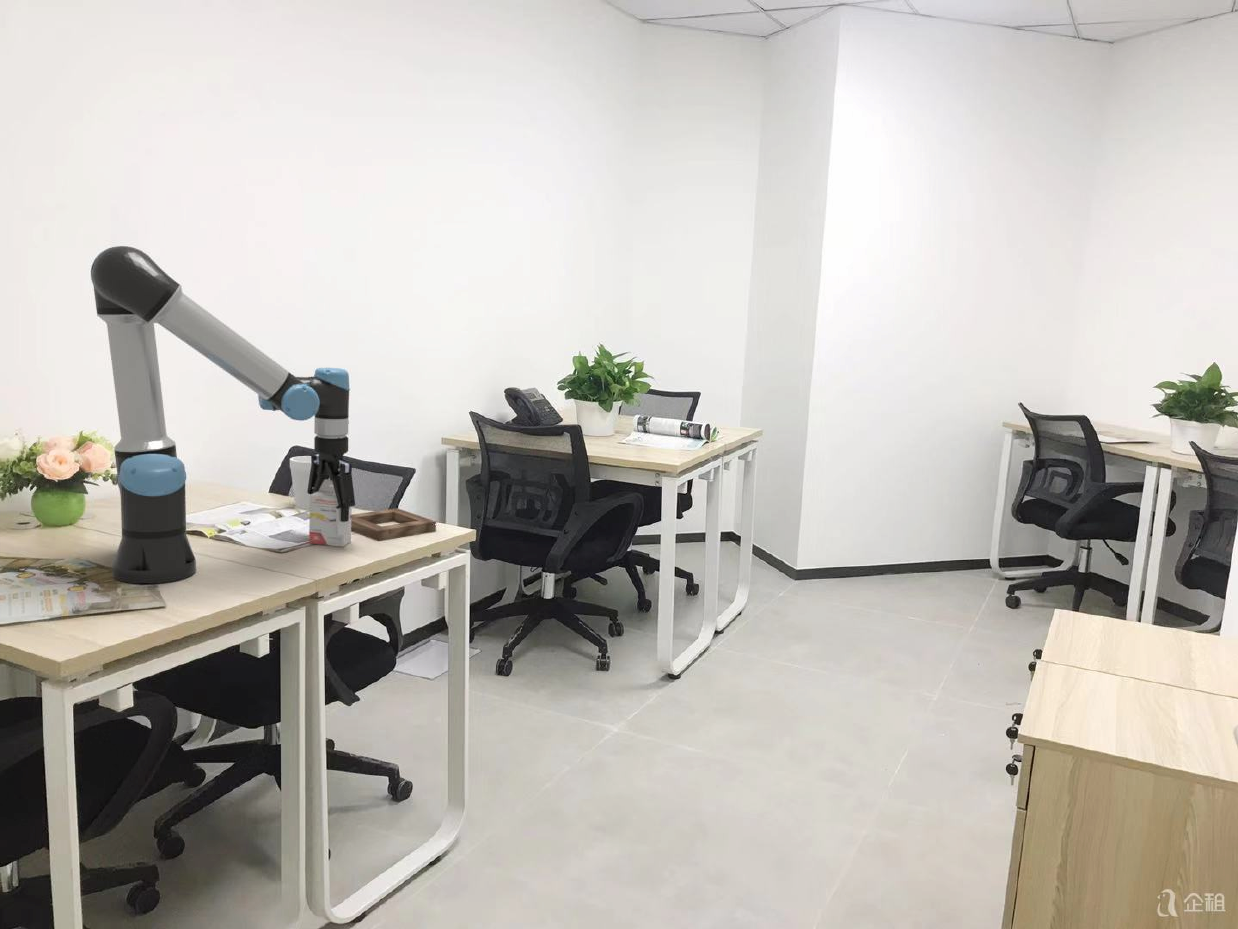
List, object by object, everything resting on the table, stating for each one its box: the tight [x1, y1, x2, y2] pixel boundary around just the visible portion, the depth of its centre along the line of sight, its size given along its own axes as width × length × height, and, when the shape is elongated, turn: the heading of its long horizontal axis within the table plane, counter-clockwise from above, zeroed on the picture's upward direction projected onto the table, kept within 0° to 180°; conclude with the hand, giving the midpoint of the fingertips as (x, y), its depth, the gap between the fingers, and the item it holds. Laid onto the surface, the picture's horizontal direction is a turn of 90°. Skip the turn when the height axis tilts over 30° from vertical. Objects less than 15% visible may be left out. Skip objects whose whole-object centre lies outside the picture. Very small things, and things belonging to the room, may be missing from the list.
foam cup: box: [289, 455, 314, 510], centre depth 252 cm, size 10×9×13 cm
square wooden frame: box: [351, 507, 437, 542], centre depth 236 cm, size 17×17×2 cm
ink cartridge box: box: [308, 479, 353, 548], centre depth 219 cm, size 9×5×15 cm, turn 84°
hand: (330, 529), depth 220 cm, fingers closed on ink cartridge box, 9 cm apart
